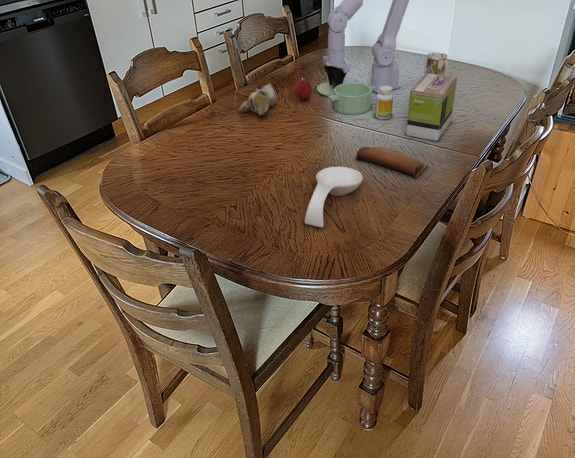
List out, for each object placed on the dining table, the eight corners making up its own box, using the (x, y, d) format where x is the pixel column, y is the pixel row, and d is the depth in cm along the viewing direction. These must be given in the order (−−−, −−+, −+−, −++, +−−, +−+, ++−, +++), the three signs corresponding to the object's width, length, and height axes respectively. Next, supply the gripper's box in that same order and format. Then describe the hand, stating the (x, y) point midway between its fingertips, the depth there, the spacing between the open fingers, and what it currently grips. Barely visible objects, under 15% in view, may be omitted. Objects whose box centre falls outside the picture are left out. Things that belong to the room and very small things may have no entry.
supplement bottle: (371, 115, 164) (373, 86, 158) (385, 111, 165) (387, 83, 160) (381, 121, 160) (383, 92, 154) (394, 117, 161) (397, 88, 156)
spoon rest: (325, 174, 135) (325, 150, 130) (367, 181, 131) (369, 157, 127) (291, 222, 118) (290, 197, 113) (338, 233, 114) (339, 207, 109)
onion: (312, 97, 178) (312, 74, 173) (311, 103, 173) (311, 81, 168) (296, 97, 178) (295, 75, 173) (294, 103, 174) (294, 81, 169)
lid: (310, 89, 184) (310, 76, 181) (340, 81, 189) (340, 69, 186) (329, 101, 174) (329, 88, 171) (361, 92, 179) (361, 80, 176)
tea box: (420, 116, 161) (426, 71, 152) (451, 122, 157) (459, 76, 148) (404, 135, 151) (410, 88, 142) (437, 142, 147) (445, 94, 138)
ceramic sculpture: (283, 80, 167) (259, 99, 157) (285, 104, 172) (262, 124, 163) (256, 76, 171) (231, 94, 162) (259, 99, 177) (235, 118, 167)
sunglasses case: (428, 163, 136) (426, 150, 130) (417, 185, 134) (414, 172, 129) (370, 147, 145) (365, 133, 139) (359, 166, 143) (354, 154, 138)
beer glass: (443, 96, 173) (450, 53, 164) (439, 104, 168) (445, 60, 159) (423, 94, 176) (428, 51, 167) (418, 101, 171) (424, 57, 162)
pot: (320, 106, 171) (320, 89, 167) (362, 95, 177) (363, 78, 174) (340, 119, 162) (340, 101, 158) (384, 106, 168) (385, 89, 165)
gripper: (315, 45, 176) (315, 82, 184) (338, 56, 166) (337, 95, 174) (332, 41, 179) (331, 78, 187) (355, 52, 168) (353, 91, 176)
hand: (335, 86), depth 180 cm, fingers open, 3 cm apart
